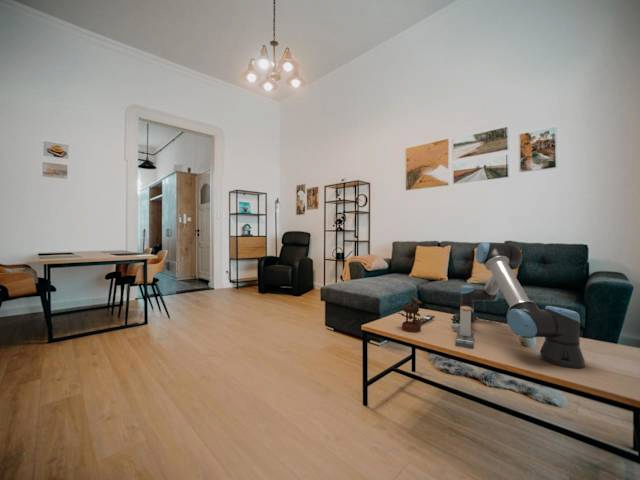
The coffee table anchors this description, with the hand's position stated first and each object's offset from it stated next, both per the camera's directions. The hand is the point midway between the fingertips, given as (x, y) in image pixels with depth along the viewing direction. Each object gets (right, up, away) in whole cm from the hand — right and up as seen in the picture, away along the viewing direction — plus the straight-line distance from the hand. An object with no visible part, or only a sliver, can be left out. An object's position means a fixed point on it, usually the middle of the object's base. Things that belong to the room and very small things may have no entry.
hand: (464, 322), depth 155 cm
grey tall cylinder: (-1, -6, -3) cm, 6 cm away
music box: (-26, -8, +13) cm, 30 cm away
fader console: (-4, -8, -7) cm, 11 cm away
